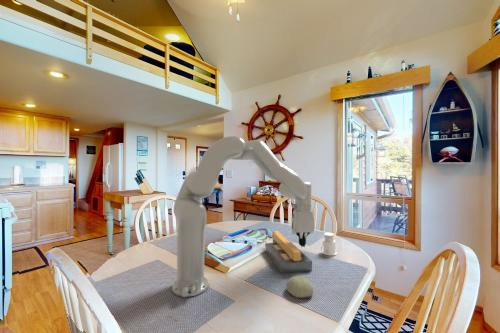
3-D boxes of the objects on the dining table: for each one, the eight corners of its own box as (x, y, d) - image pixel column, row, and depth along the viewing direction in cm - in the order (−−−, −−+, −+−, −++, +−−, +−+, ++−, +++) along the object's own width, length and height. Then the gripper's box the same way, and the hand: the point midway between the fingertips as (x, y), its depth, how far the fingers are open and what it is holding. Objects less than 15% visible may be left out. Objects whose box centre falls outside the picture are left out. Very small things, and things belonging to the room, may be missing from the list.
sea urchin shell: (292, 276, 85) (306, 266, 81) (305, 296, 82) (320, 287, 78) (279, 286, 78) (294, 276, 74) (293, 309, 75) (309, 299, 71)
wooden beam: (301, 260, 93) (301, 252, 93) (293, 260, 92) (293, 252, 92) (277, 236, 122) (277, 230, 122) (271, 237, 122) (271, 230, 121)
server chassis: (311, 270, 94) (312, 259, 94) (280, 273, 91) (281, 262, 91) (286, 245, 123) (286, 237, 123) (262, 247, 120) (262, 238, 120)
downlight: (335, 250, 117) (335, 231, 117) (339, 256, 110) (339, 236, 110) (320, 250, 117) (319, 231, 117) (323, 256, 110) (322, 236, 110)
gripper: (291, 209, 101) (290, 249, 101) (321, 208, 104) (320, 247, 104) (285, 206, 108) (284, 243, 108) (313, 205, 111) (312, 242, 111)
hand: (302, 245), depth 106 cm, fingers closed
